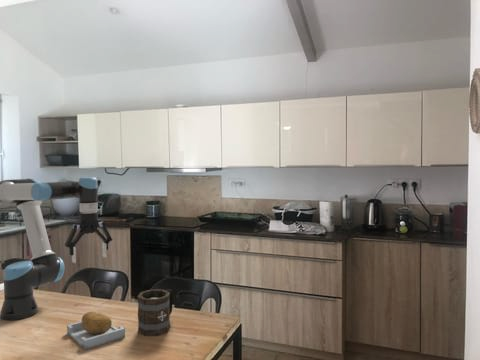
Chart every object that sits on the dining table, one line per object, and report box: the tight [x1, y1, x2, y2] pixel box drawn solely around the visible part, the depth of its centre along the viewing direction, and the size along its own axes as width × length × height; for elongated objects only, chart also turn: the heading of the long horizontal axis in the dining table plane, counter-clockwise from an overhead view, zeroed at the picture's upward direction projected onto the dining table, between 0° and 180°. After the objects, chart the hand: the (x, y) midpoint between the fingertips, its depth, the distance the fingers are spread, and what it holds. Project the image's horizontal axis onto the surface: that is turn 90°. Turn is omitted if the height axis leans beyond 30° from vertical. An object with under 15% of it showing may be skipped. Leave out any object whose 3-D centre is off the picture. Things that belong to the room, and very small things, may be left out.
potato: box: [81, 311, 113, 335], centre depth 159 cm, size 10×14×8 cm
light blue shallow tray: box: [66, 320, 126, 351], centre depth 158 cm, size 19×16×4 cm
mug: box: [137, 288, 174, 337], centre depth 166 cm, size 20×14×15 cm
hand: (89, 259), depth 174 cm, fingers open, 13 cm apart
